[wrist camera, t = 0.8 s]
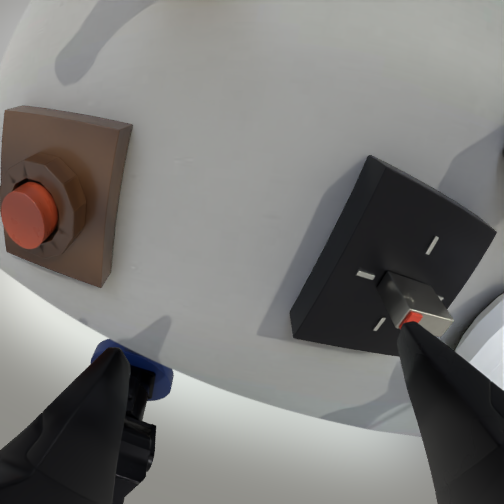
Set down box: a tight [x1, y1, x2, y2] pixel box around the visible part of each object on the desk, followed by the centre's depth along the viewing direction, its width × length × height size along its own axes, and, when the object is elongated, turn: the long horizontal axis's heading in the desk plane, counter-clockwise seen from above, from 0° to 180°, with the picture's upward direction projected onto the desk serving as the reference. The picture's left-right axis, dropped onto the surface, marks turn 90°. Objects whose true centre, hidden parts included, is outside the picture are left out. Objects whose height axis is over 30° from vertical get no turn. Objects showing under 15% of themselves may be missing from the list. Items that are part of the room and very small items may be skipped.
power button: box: [1, 182, 58, 249], centre depth 15 cm, size 4×4×2 cm
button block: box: [0, 106, 133, 288], centre depth 17 cm, size 12×10×4 cm
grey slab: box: [377, 271, 454, 337], centre depth 18 cm, size 5×2×4 cm, turn 71°
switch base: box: [290, 155, 497, 357], centre depth 21 cm, size 14×12×3 cm
